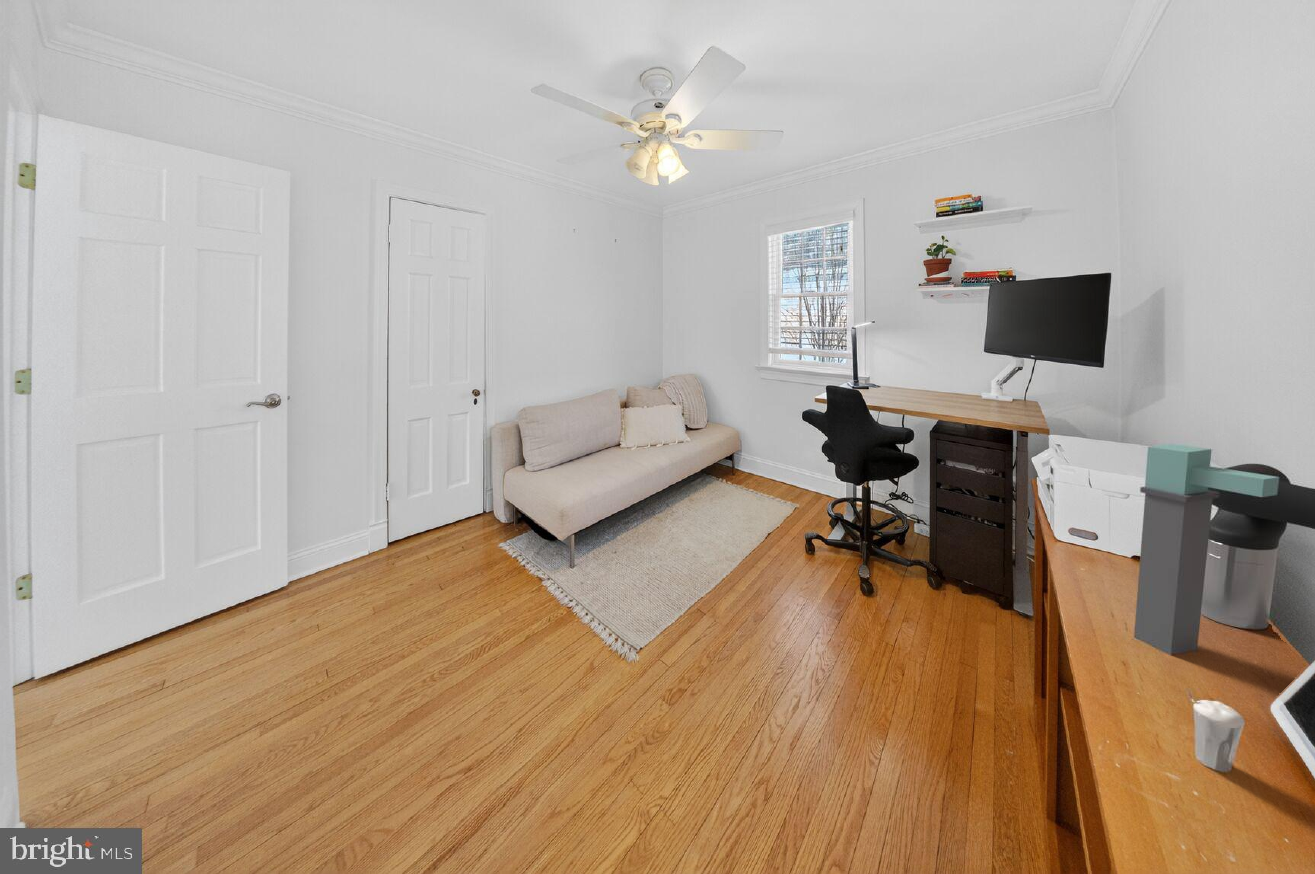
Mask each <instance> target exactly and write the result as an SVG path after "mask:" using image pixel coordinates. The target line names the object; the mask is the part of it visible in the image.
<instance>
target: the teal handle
mask: <svg viewBox="0 0 1315 874" xmlns="http://www.w3.org/2000/svg"><path fill="white" fill-rule="evenodd" d="M1212 452H1213V451H1212V448H1207V447H1197V446H1192V445H1191V446H1189V445H1183V444H1176V443H1175V444H1173V443H1166V444H1159V445H1153V446H1152V445H1151V446H1147V454H1146V455H1147V456H1146V469H1145V480H1144V481H1145V483H1144V487H1149V488H1154V489H1159V490H1163V491H1168V492H1173V493H1178V494H1183V495H1187V494H1193V493H1200V492H1207V490H1208V487H1210V488H1216V489H1221V490H1226V491H1232V492H1237V493H1242V494H1247V495H1253V496H1258V497H1266V496H1273V495H1277V491H1278V483H1279V477H1275V476H1269V475H1262V474H1256V473H1249V472H1243V471H1236V470H1230V469H1224V468H1223V467H1216V466H1215V467H1214V466H1211V460H1212V459H1211V458H1212Z"/></svg>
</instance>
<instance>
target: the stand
mask: <svg viewBox="0 0 1315 874" xmlns="http://www.w3.org/2000/svg"><path fill="white" fill-rule="evenodd" d="M1139 490H1140V491H1139V493H1143V494H1144V495H1145V496H1144V506H1143V516H1142V517H1143V519H1142V531H1141V544H1140V555H1139V556H1140V557H1139V570H1138V582H1137V583H1138V584H1137V595H1136V606H1135V607H1136V608H1135V609H1136V610H1135V620H1134V621H1135V622H1134V634H1133V637H1134V638H1135V639H1138V640H1140V641H1141V642H1144V643H1145V644H1147V645H1150V646H1152V647H1153V648H1156V649H1157V650H1160V651H1161V652H1164V653H1165V654H1167V655H1170V656H1173V655H1178V654H1179V655H1180V654H1183V653H1189V652H1194V651H1197V650H1198V644H1199V636H1200V635H1199V634H1200V626H1201V617H1202V616H1201V615H1202V614H1201V607H1202V597H1203V588H1204V578H1205V568H1206V558H1207V549H1208V539H1209V529H1210V521H1211V520H1212V519H1211V518H1212V510H1213V509H1212V508H1213V505H1212V500H1213V498H1218V497H1219V492H1216V491H1211V490H1207V492H1200V493H1193V494H1187V495H1183V494H1178V493H1173V492H1168V491H1163V490H1159V489H1154V488H1149V487H1145V486H1141V487H1140V489H1139Z"/></svg>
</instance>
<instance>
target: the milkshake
mask: <svg viewBox="0 0 1315 874" xmlns="http://www.w3.org/2000/svg"><path fill="white" fill-rule="evenodd" d="M1185 690H1186V692H1187V693H1188V694H1187V695H1188V696H1189V698H1190V700H1191V702H1192V704H1193V705H1192V706H1193V722H1194V751H1195V752H1194V753H1195V754H1194V755H1195V757H1196V758H1195V759H1196V760H1197V761H1199V762H1200V763H1201V764H1202V765H1203V766H1205V767H1207V768H1210V769H1211V770H1214V771H1217V772H1221V773H1228V772H1231V771H1232V768H1233V765H1234V760H1235V758H1236V753H1237V749H1238V747H1239V746H1238V744H1239V742H1240V738H1241V735H1242V732H1243V729H1244V727H1245V720H1244V718H1243V717H1242V715H1241V714H1239V712H1237V710H1235V709H1234V708H1232V707H1231V706H1228V705H1226V704H1224V703H1223V702H1221V701H1217V700H1208V699H1201V700H1197V701H1195V700H1194V699H1193V696H1192V695H1191V693H1190V691H1189V689H1188V687H1186V689H1185Z"/></svg>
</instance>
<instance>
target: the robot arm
mask: <svg viewBox="0 0 1315 874" xmlns="http://www.w3.org/2000/svg"><path fill="white" fill-rule="evenodd" d="M1223 469H1230V470H1236V471H1243V472H1249V473H1256V474H1262V475H1269V476H1275V477H1279V483H1278V491H1277V495H1273V496H1266V497H1258V496H1253V495H1247V494H1242V493H1237V492H1232V491H1226V490H1221V489H1216V488H1210V487H1208V490H1211V491H1216V492H1219V497H1218V498H1213V500H1212V506H1214V507H1216V508H1217V511H1216V512H1215V514H1214V516H1213V517H1211V518H1212V519H1210V529H1209V539H1208V549H1207V558H1206V568H1205V578H1204V588H1203V597H1202V607H1201V615H1202V616H1203V617H1206V618H1208V619H1210V620H1212V621H1215V622H1217V623H1220V624H1222V625H1227V626H1230V627H1235V628H1240V629H1245V630H1246V629H1247V630H1264V629H1266V628H1268V626H1269V621H1270V612H1271V606H1272V605H1271V604H1272V598H1273V590H1274V584H1275V583H1274V582H1275V575H1276V566H1277V557H1278V550H1279V543H1280V539H1281V537H1283V535H1284V533H1285V531H1286V529H1287V525H1288V524H1291V525H1292V524H1293V525H1295V526H1301V527H1305V528H1308V529H1309V528H1310V529H1313V530H1315V488H1313V487H1307V486H1303V485H1302V486H1301V485H1297V484H1294V483H1291V481H1290V479H1289V478H1288V477H1287V475H1286V474H1285V473H1283V472H1282V471H1281V470H1279V469H1277V468H1276V467H1273V466H1271V465H1267V464H1262V463H1242V464H1238V465H1233V466H1230V467H1224V468H1223ZM1267 619H1268V621H1267Z"/></svg>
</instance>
